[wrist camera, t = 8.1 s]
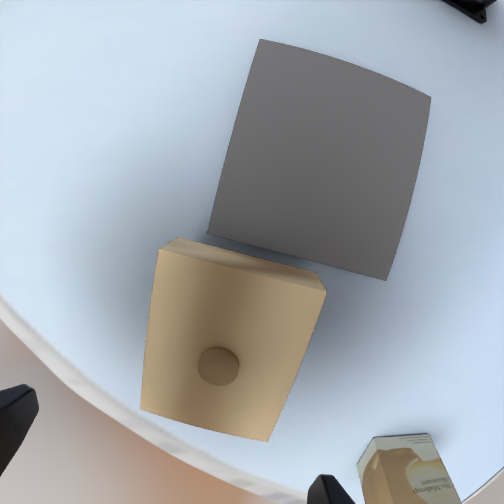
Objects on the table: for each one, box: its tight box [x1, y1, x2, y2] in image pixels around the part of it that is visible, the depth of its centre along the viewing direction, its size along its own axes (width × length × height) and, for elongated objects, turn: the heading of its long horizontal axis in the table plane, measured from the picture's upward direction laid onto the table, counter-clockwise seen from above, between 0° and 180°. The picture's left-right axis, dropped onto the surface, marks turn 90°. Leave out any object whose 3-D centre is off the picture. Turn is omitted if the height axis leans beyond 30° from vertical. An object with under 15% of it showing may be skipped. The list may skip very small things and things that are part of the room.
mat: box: [207, 39, 431, 281], centre depth 16 cm, size 11×12×1 cm
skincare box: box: [357, 434, 462, 504], centre depth 15 cm, size 6×4×12 cm
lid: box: [140, 237, 327, 442], centre depth 14 cm, size 7×9×3 cm
